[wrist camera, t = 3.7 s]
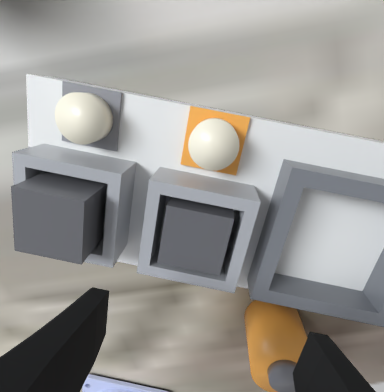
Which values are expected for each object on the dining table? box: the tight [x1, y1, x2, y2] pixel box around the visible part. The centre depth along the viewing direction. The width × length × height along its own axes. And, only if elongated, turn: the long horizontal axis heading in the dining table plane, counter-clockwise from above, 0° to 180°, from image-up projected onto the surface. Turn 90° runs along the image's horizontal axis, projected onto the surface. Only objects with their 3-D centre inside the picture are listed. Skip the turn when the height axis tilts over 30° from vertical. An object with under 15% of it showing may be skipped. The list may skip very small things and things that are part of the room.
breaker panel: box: [12, 74, 384, 327], centre depth 15 cm, size 10×22×5 cm, turn 80°
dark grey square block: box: [157, 197, 234, 276], centre depth 14 cm, size 3×3×2 cm
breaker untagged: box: [11, 171, 107, 264], centre depth 13 cm, size 3×3×2 cm
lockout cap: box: [244, 300, 307, 392], centre depth 18 cm, size 4×4×5 cm
